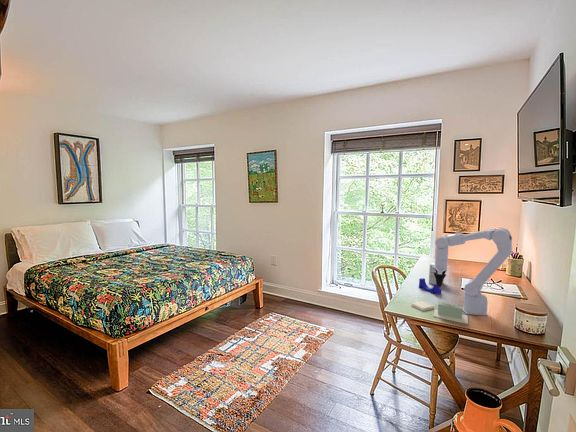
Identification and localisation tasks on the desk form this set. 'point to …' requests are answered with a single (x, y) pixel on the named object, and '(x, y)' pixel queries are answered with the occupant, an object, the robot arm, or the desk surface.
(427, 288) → the cable clip
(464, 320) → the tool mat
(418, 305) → the tile
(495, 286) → the desk surface
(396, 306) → the desk surface
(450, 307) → the block
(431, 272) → the supplement box
